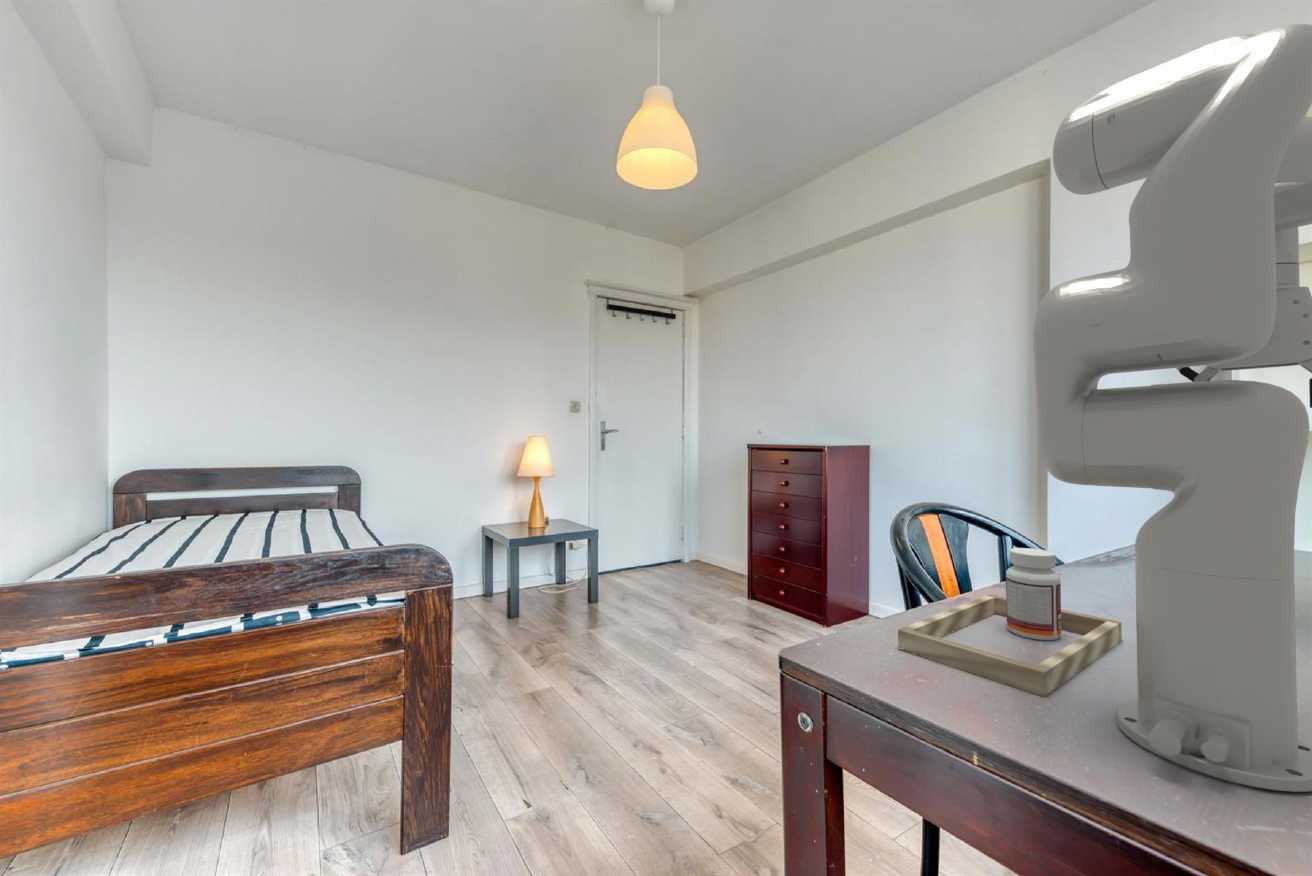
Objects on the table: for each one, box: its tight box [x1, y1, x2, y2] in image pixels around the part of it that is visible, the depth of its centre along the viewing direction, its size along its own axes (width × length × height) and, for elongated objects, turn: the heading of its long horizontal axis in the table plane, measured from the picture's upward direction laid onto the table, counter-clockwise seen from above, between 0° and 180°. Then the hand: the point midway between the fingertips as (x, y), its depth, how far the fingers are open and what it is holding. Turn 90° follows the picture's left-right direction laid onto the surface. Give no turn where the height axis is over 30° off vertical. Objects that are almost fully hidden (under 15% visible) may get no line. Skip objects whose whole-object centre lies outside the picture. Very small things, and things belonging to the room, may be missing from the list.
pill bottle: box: [1005, 547, 1062, 641], centre depth 73 cm, size 6×6×11 cm
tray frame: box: [897, 594, 1123, 698], centre depth 69 cm, size 26×16×2 cm, turn 125°
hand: (1259, 410), depth 73 cm, fingers open, 9 cm apart
